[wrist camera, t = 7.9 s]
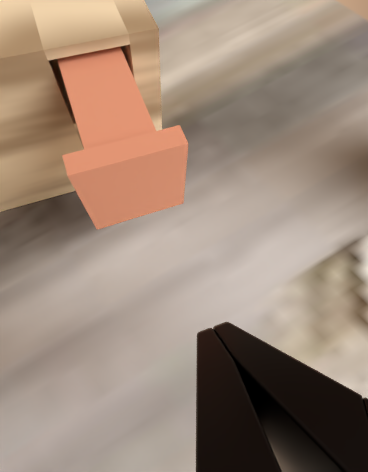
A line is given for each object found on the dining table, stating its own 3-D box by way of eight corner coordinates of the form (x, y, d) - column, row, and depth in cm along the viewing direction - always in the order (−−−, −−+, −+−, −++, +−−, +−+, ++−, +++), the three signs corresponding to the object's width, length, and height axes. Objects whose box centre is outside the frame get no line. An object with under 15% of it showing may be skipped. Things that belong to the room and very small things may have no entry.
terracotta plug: (183, 203, 16) (188, 143, 12) (97, 229, 15) (67, 175, 11) (123, 60, 20) (110, -23, 16) (53, 74, 20) (19, -9, 15)
